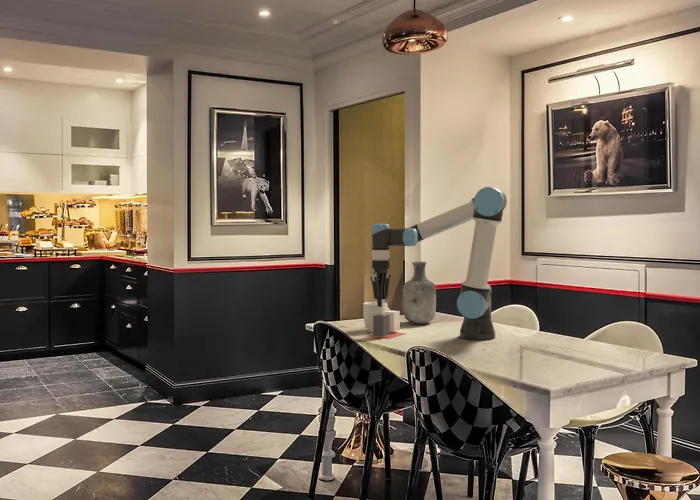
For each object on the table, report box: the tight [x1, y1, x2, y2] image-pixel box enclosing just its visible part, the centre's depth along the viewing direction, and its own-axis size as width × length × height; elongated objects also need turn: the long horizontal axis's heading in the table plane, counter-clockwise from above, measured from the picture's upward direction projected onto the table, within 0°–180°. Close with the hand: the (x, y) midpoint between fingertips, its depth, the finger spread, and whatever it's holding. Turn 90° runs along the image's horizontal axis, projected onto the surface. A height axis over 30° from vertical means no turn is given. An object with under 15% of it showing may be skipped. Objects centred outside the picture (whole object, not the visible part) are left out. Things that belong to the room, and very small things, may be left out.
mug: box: [362, 301, 391, 333], centre depth 313 cm, size 15×11×13 cm
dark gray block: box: [372, 314, 390, 336], centre depth 295 cm, size 5×5×9 cm
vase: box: [402, 261, 437, 325], centre depth 332 cm, size 16×16×30 cm
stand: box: [365, 309, 408, 340], centre depth 300 cm, size 12×17×10 cm
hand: (381, 314), depth 294 cm, fingers closed
